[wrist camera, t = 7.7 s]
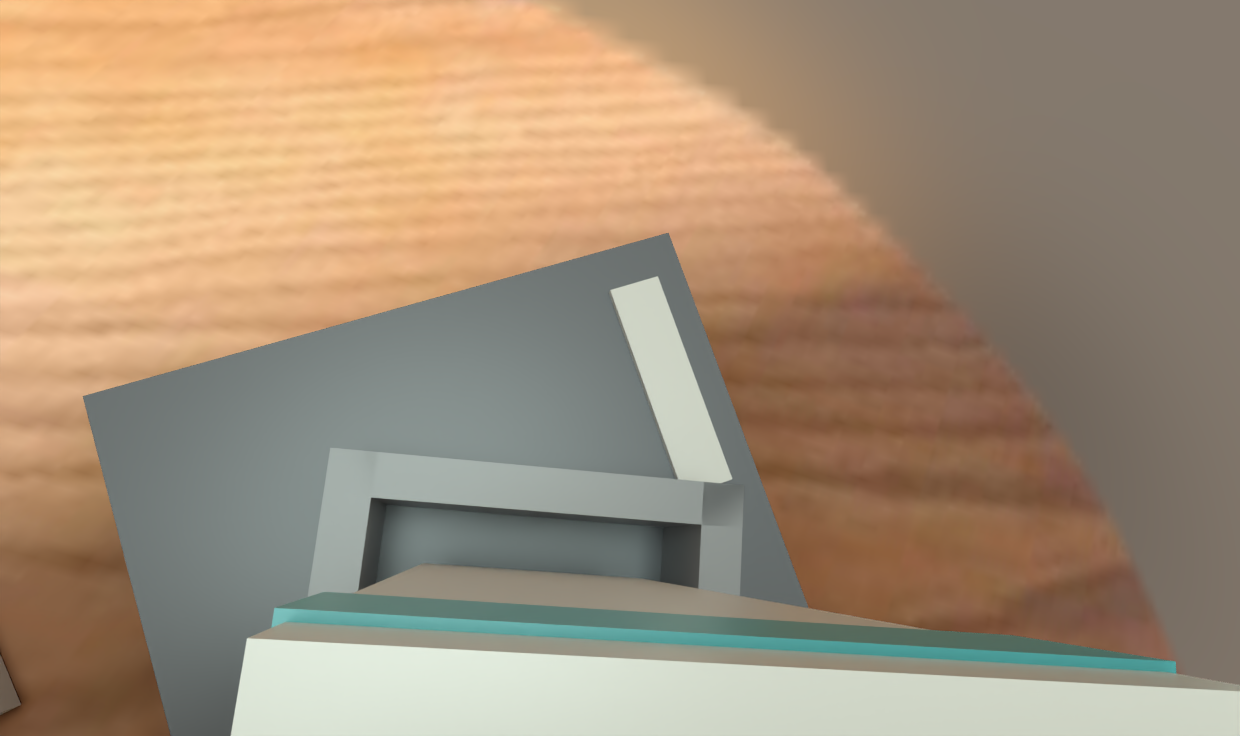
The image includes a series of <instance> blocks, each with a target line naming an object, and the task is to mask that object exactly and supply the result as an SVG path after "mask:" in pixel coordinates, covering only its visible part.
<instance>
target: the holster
mask: <svg viewBox="0 0 1240 736" xmlns="http://www.w3.org/2000/svg"><path fill="white" fill-rule="evenodd" d="M20 705H21V703H20V701H19V698H18V696H17V694H16V691H15V689H14V686H13V684H12V681H11V679H10V677H9V674H8V672H7V669H6V667H5V665H4V662H3V660H2V657H1V655H0V715H1V714H3V713H5V712H7V711H9V710H11V709H13V708H15V707H18V706H20Z"/></svg>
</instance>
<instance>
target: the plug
mask: <svg viewBox="0 0 1240 736" xmlns="http://www.w3.org/2000/svg"><path fill="white" fill-rule="evenodd" d="M231 736H1240V685H1236V684H1231V683H1225V682H1220V681H1214V680H1209V679H1202V678H1197V677H1192V676H1186V675H1181V674H1176V663H1175V661H1169V660H1163V659H1156V658H1150V657H1144V656H1138V655H1132V654H1125V653H1119V652H1113V651H1107V650H1101V649H1094V648H1088V647H1082V646H1076V645H1070V644H1063V643H1057V642H1051V641H1045V640H1039V639H1032V638H1026V637H1020V636H1014V635H1000V634H984V633H968V632H952V631H936V630H928V629H922V628H917V627H911V626H905V625H900V624H894V623H889V622H883V621H877V620H872V619H866V618H861V617H855V616H849V615H844V614H838V613H832V612H827V611H821V610H816V609H810V608H804V607H799V606H793V605H788V604H782V603H776V602H771V601H765V600H759V599H754V598H748V597H743V596H737V595H731V594H726V593H720V592H715V591H709V590H703V589H698V588H692V587H686V586H681V585H675V584H670V583H664V582H658V581H653V580H647V579H642V578H629V577H614V576H600V575H586V574H572V573H557V572H543V571H529V570H515V569H501V568H486V567H472V566H458V565H444V564H429V563H422V564H420V565H418V566H415V567H413V568H411V569H408V570H406V571H404V572H401V573H399V574H397V575H394V576H392V577H390V578H387V579H385V580H383V581H380V582H378V583H376V584H373V585H371V586H368V587H366V588H364V589H361V590H359V591H357V592H354V593H337V592H321V593H318V594H315V595H312V596H309V597H306V598H303V599H300V600H297V601H294V602H291V603H288V604H285V605H282V606H279V607H276V608H274V614H273V620H272V626H271V628H270V629H268V630H265V631H263V632H261V633H258V634H256V635H254V636H251V637H249V638H247V641H246V647H245V653H244V659H243V665H242V671H241V677H240V683H239V689H238V695H237V701H236V707H235V713H234V719H233V725H232V731H231Z"/></svg>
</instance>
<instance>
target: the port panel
mask: <svg viewBox="0 0 1240 736" xmlns="http://www.w3.org/2000/svg"><path fill="white" fill-rule="evenodd" d="M83 399H84V403H85V407H86V410H87V414H88V418H89V422H90V426H91V430H92V434H93V437H94V441H95V445H96V449H97V453H98V457H99V461H100V464H101V468H102V472H103V476H104V480H105V484H106V488H107V491H108V495H109V499H110V503H111V507H112V511H113V515H114V518H115V522H116V526H117V530H118V534H119V538H120V542H121V545H122V549H123V553H124V557H125V561H126V565H127V569H128V572H129V576H130V580H131V584H132V588H133V592H134V596H135V599H136V603H137V607H138V611H139V615H140V619H141V623H142V626H143V630H144V634H145V638H146V642H147V646H148V650H149V653H150V657H151V661H152V665H153V669H154V673H155V677H156V680H157V684H158V688H159V692H160V696H161V700H162V704H163V707H164V711H165V715H166V719H167V723H168V727H169V731H170V734H171V736H231V731H232V725H233V719H234V713H235V707H236V701H237V695H238V689H239V683H240V677H241V671H242V665H243V659H244V653H245V647H246V641H247V638H249V637H251V636H254V635H256V634H258V633H261V632H263V631H265V630H268V629H270V628H271V626H272V620H273V614H274V608H276V607H279V606H282V605H285V604H288V603H291V602H294V601H297V600H300V599H303V598H306V597H309V596H312V595H315V594H318V593H321V592H337V593H354V592H357V591H359V590H361V589H364V588H366V587H368V586H371V585H373V584H376V583H378V582H380V581H383V580H385V579H387V578H390V577H392V576H394V575H397V574H399V573H401V572H404V571H406V570H408V569H411V568H413V567H415V566H418V565H420V564H422V563H429V564H444V565H458V566H472V567H486V568H501V569H515V570H529V571H543V572H557V573H572V574H586V575H600V576H614V577H629V578H642V579H647V580H653V581H658V582H664V583H670V584H675V585H681V586H686V587H692V588H698V589H703V590H709V591H715V592H720V593H726V594H731V595H737V596H743V597H748V598H754V599H759V600H765V601H771V602H776V603H782V604H788V605H793V606H799V607H804V608H808V605H807V603H806V600H805V597H804V595H803V592H802V589H801V587H800V584H799V581H798V579H797V576H796V573H795V571H794V568H793V565H792V563H791V560H790V557H789V555H788V552H787V549H786V547H785V544H784V541H783V539H782V536H781V533H780V531H779V528H778V525H777V522H776V520H775V517H774V514H773V512H772V509H771V506H770V504H769V501H768V498H767V496H766V493H765V490H764V488H763V485H762V482H761V480H760V477H759V474H758V472H757V469H756V466H755V464H754V461H753V458H752V456H751V453H750V450H749V447H748V445H747V442H746V439H745V437H744V434H743V431H742V429H741V426H740V423H739V421H738V418H737V415H736V413H735V410H734V407H733V405H732V402H731V399H730V397H729V394H728V391H727V389H726V386H725V383H724V381H723V378H722V375H721V372H720V370H719V367H718V364H717V362H716V359H715V356H714V354H713V351H712V348H711V346H710V343H709V340H708V338H707V335H706V332H705V330H704V327H703V324H702V322H701V319H700V316H699V314H698V311H697V308H696V306H695V303H694V300H693V297H692V295H691V292H690V289H689V287H688V284H687V281H686V279H685V276H684V273H683V271H682V268H681V265H680V263H679V260H678V257H677V255H676V252H675V249H674V247H673V244H672V241H671V239H670V236H669V233H666V234H663V235H659V236H655V237H652V238H648V239H645V240H641V241H637V242H634V243H630V244H627V245H623V246H620V247H616V248H612V249H609V250H605V251H602V252H598V253H594V254H591V255H587V256H584V257H580V258H577V259H573V260H569V261H566V262H562V263H559V264H555V265H551V266H548V267H544V268H541V269H537V270H534V271H530V272H526V273H523V274H519V275H516V276H512V277H508V278H505V279H501V280H498V281H494V282H491V283H487V284H483V285H480V286H476V287H473V288H469V289H465V290H462V291H458V292H455V293H451V294H448V295H444V296H440V297H437V298H433V299H430V300H426V301H422V302H419V303H415V304H412V305H408V306H405V307H401V308H397V309H394V310H390V311H387V312H383V313H379V314H376V315H372V316H369V317H365V318H362V319H358V320H354V321H351V322H347V323H344V324H340V325H336V326H333V327H329V328H326V329H322V330H319V331H315V332H311V333H308V334H304V335H301V336H297V337H294V338H290V339H286V340H283V341H279V342H276V343H272V344H268V345H265V346H261V347H258V348H254V349H251V350H247V351H243V352H240V353H236V354H233V355H229V356H225V357H222V358H218V359H215V360H211V361H208V362H204V363H200V364H197V365H193V366H190V367H186V368H182V369H179V370H175V371H172V372H168V373H165V374H161V375H157V376H154V377H150V378H147V379H143V380H139V381H136V382H132V383H129V384H125V385H122V386H118V387H114V388H111V389H107V390H104V391H100V392H96V393H93V394H89V395H86V396H83Z"/></svg>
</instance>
